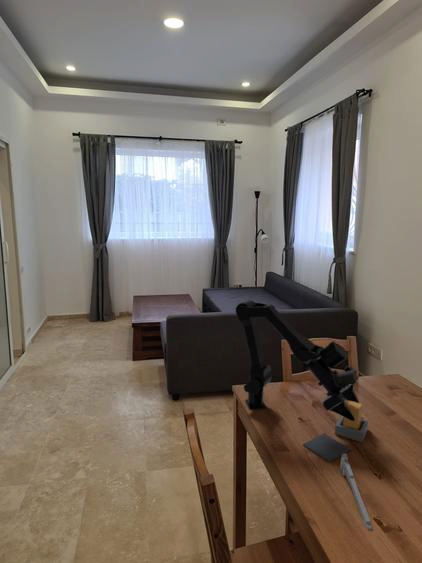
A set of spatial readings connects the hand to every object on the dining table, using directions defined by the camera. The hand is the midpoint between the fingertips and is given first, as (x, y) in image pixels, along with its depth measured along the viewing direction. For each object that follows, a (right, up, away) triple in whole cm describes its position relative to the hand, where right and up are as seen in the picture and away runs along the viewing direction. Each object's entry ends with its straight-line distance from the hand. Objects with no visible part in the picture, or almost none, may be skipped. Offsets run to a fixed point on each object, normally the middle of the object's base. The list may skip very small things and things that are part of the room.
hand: (357, 413), depth 122 cm
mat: (-12, -8, -7) cm, 16 cm away
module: (-1, -6, +2) cm, 7 cm away
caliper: (-11, -12, -27) cm, 31 cm away
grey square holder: (-1, -6, +2) cm, 7 cm away
